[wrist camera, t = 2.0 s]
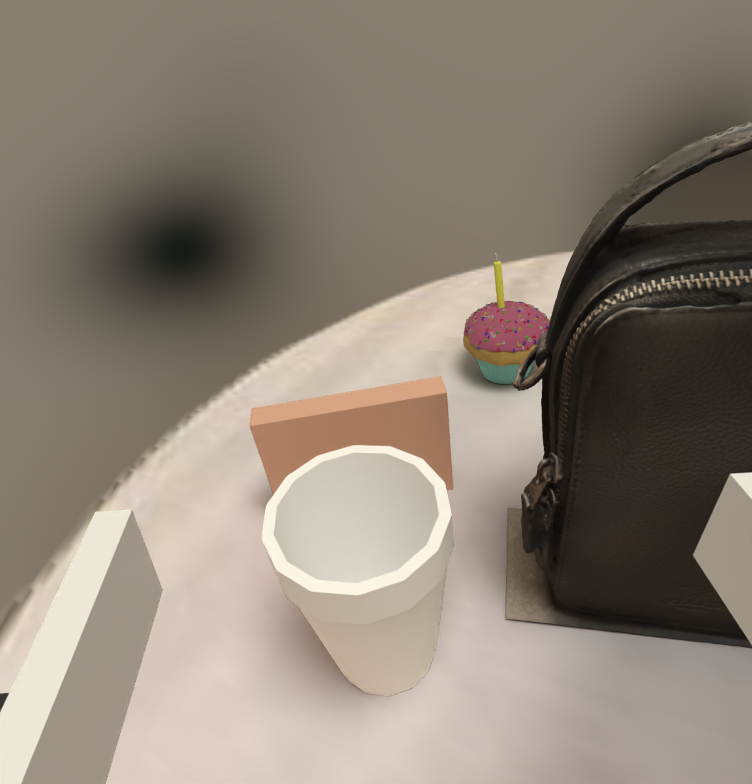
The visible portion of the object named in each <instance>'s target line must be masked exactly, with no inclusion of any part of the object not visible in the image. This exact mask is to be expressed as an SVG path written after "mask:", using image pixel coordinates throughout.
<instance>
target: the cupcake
mask: <svg viewBox="0 0 752 784" xmlns="http://www.w3.org/2000/svg"><path fill="white" fill-rule="evenodd" d="M495 258H496V262H494V271H495V282H496V293H497V302H493V303H491V304H486V306H485V307H483V308H481V309H478V310H477V312H474V313H472V314H471V316H470V317H469V319H467V320H466V323H465V331H464V339H463V342H464V346H465V348H466V349H467V350H468V351H469V352H470V353H471V354H472V355H474V356H475V357H476V359H477V362H478V364H479V366H480V369H481V372H482V374H483V376H484V377H485V378H486V379H488V380H490V381H492V382H494V383H498V384H513V381H514V380H515V379H516V376H517V371H518V368H519V366H520V365H521V364H522V363H523V362H524V360H525V358H526V357H527V355H528V354H529V353H530V352H531V351H532V350H533V349H534V347H535V346H536V345H537V343H538V340H539V338H540V336H541V335H542V334H543V332H545V331H546V330H548V327H549V323H550V320H549V319H547V316H546V315H545V314H544V313H541V312H540V311H539V310H537V308H534V306H532V305H529V304H525V303H523V302H520V303H519V302H514V301H504V292H503V280H502V269H501V262H500V261H498V256H497V254H496V253H495ZM487 305H488V306H487ZM534 361H535V360H534ZM534 361H533V362H532V364H531V365H530V366H529V368H528V370H527V372H526V375H525V377H524V379H525V378H526V377H527V376H528V374H529V372H530V370H531V367H532V365H533V363H534Z"/></svg>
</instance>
